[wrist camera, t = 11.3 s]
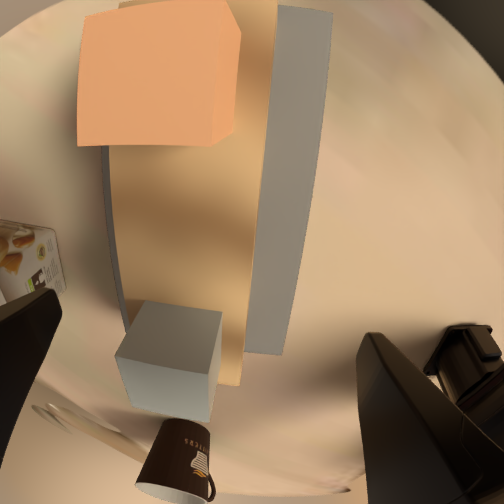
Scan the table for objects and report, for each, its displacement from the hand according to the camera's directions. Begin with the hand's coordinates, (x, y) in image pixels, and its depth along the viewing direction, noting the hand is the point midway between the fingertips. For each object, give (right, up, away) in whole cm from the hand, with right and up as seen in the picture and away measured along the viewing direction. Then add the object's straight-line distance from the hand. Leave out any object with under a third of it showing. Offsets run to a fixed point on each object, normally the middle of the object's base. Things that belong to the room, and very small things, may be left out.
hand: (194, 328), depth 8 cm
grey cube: (-2, -2, +8) cm, 8 cm away
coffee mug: (-7, -23, +27) cm, 36 cm away
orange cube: (-1, +8, +2) cm, 9 cm away
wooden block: (-1, +5, +9) cm, 10 cm away
